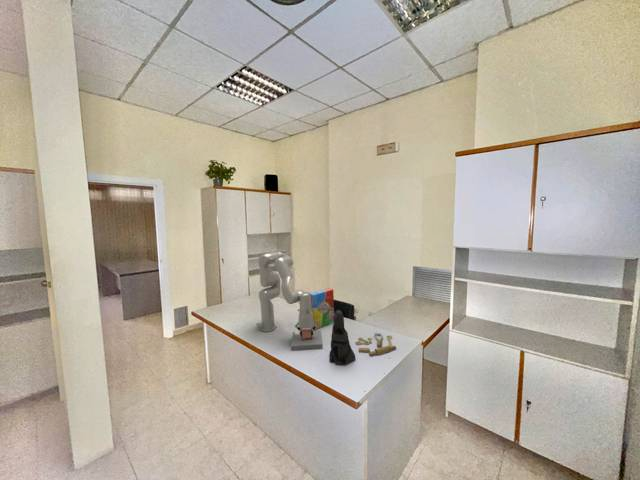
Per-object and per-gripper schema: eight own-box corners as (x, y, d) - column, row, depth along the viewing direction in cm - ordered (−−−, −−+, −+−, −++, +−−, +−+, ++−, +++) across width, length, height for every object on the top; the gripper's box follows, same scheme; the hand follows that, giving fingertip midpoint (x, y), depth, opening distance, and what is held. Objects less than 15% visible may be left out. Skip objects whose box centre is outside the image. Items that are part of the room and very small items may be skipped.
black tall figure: (339, 368, 141) (337, 316, 138) (324, 358, 152) (322, 309, 150) (357, 359, 149) (356, 310, 146) (341, 350, 160) (340, 304, 158)
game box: (314, 330, 190) (312, 295, 187) (309, 328, 194) (308, 293, 191) (334, 322, 203) (333, 289, 200) (330, 320, 207) (329, 287, 204)
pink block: (302, 342, 170) (302, 332, 169) (302, 338, 175) (302, 328, 175) (311, 342, 170) (311, 332, 169) (311, 338, 176) (310, 328, 175)
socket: (291, 350, 162) (291, 344, 162) (293, 335, 182) (292, 330, 182) (322, 348, 163) (322, 343, 163) (320, 334, 183) (320, 329, 183)
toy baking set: (377, 330, 187) (377, 325, 187) (407, 343, 167) (407, 338, 167) (345, 345, 167) (345, 340, 167) (375, 362, 147) (375, 356, 147)
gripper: (292, 313, 167) (293, 339, 168) (318, 312, 167) (319, 338, 169) (293, 309, 174) (294, 334, 176) (318, 307, 175) (319, 333, 177)
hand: (306, 336), depth 172 cm, fingers closed on pink block, 6 cm apart
